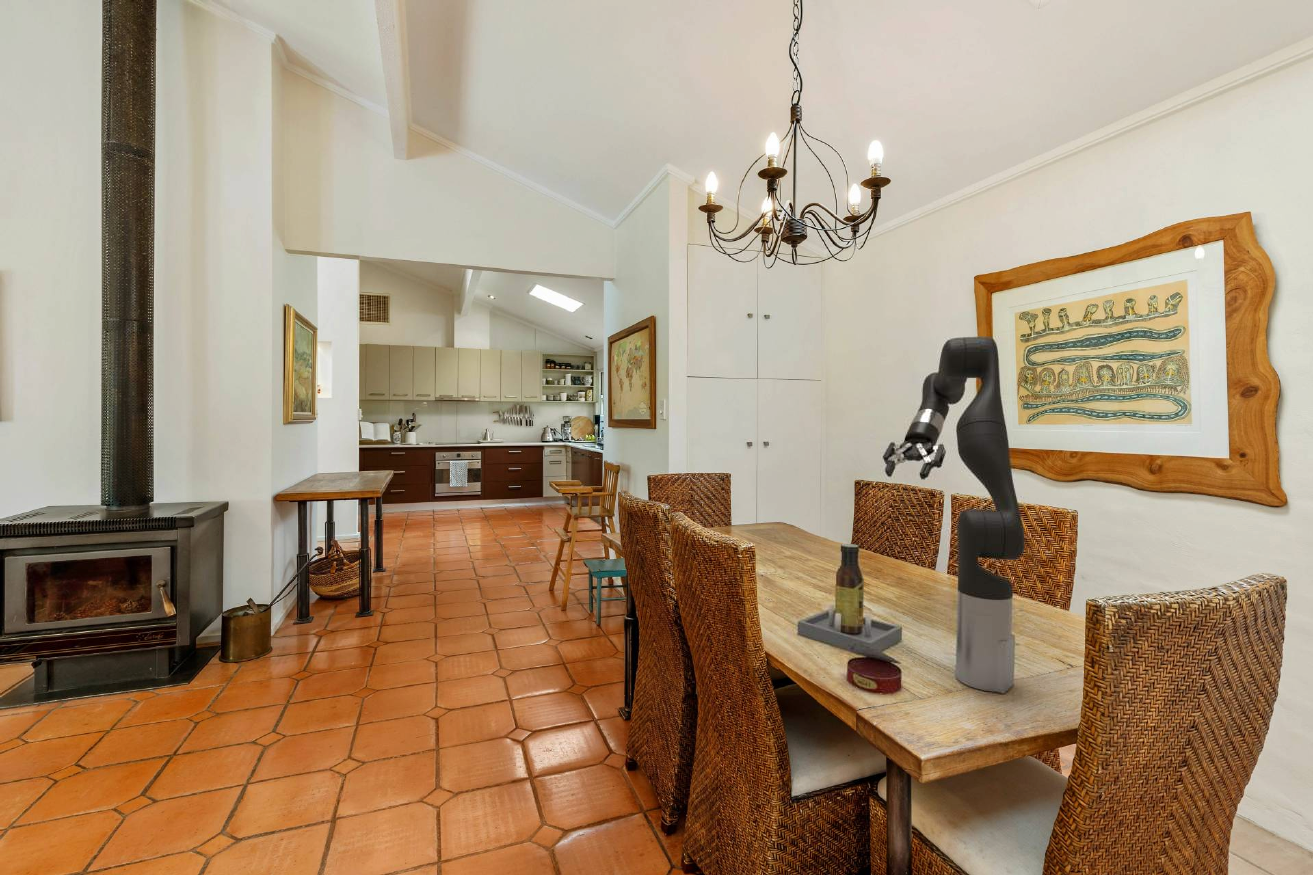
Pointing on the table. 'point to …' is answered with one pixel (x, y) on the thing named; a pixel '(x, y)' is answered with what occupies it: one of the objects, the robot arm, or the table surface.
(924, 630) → the table surface
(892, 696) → the table surface
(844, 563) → the sauce bottle
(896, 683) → the canned food
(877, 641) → the pin tray
